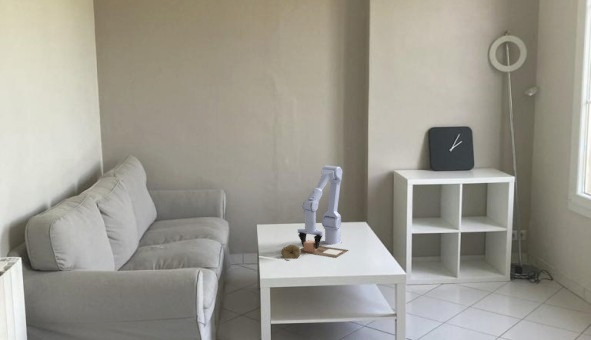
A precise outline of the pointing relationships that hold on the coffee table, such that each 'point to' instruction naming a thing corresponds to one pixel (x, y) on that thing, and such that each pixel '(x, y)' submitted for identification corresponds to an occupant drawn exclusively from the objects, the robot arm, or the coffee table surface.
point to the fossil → (291, 252)
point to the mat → (332, 252)
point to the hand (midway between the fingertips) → (310, 247)
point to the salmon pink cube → (309, 246)
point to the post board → (322, 249)
